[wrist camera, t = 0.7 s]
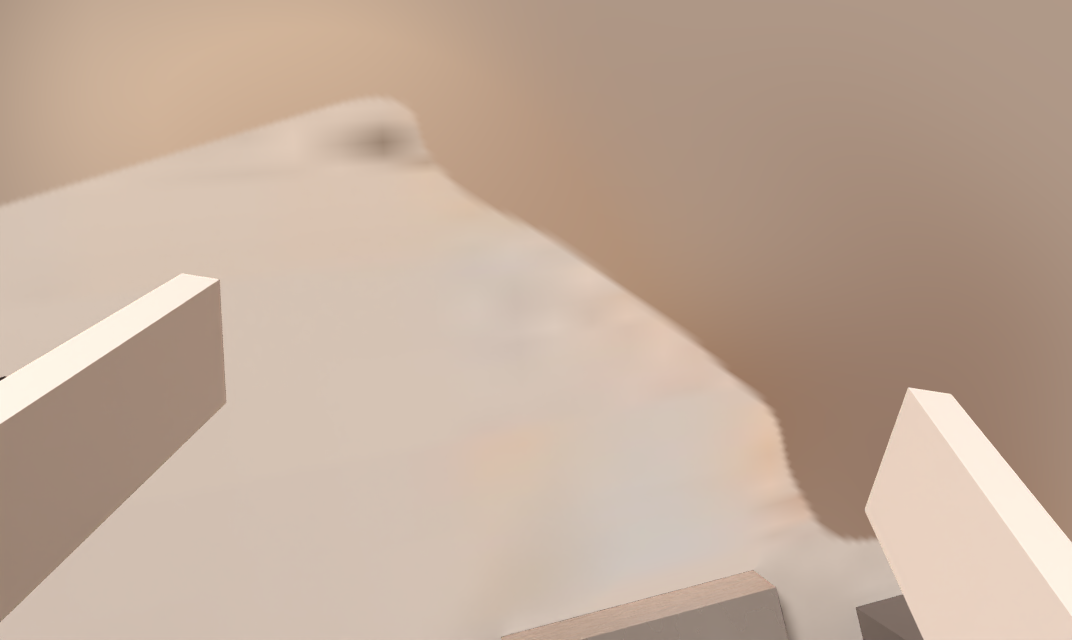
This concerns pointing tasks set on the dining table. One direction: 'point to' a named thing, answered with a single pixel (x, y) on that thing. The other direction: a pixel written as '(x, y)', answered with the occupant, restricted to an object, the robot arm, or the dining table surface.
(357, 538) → the dining table surface
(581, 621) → the socket plate
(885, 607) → the plug
